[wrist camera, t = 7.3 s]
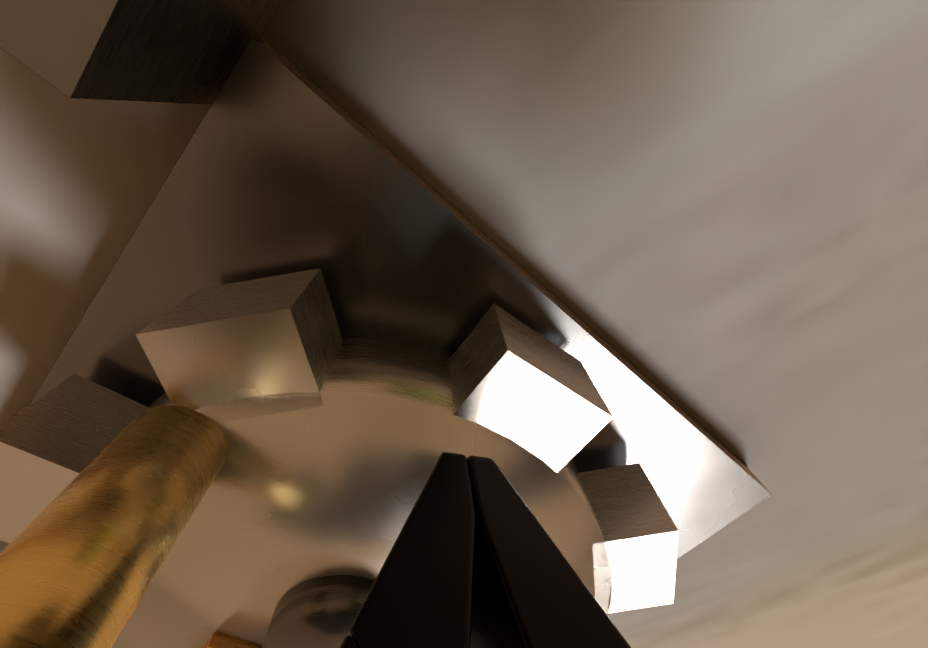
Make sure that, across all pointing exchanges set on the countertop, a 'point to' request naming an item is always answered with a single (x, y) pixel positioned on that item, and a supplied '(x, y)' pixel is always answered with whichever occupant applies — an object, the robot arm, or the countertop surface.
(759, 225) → the countertop surface
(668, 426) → the base plate
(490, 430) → the grey cog wheel
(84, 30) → the taupe rectangular block
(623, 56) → the countertop surface
